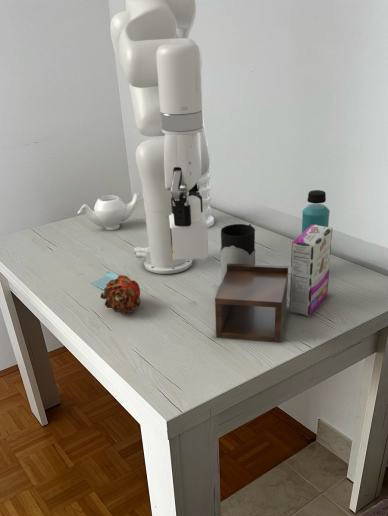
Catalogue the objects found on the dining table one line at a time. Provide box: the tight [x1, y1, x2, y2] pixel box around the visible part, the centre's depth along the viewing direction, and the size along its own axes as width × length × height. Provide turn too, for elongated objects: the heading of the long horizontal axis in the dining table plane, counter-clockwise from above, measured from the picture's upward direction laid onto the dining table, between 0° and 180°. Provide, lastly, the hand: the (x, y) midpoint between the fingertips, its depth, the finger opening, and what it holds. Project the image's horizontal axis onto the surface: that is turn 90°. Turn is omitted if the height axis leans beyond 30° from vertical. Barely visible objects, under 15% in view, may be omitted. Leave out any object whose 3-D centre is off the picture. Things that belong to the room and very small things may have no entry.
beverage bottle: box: [300, 189, 331, 235], centre depth 130 cm, size 6×7×20 cm
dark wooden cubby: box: [214, 264, 289, 343], centre depth 113 cm, size 13×14×10 cm
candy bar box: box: [289, 225, 333, 317], centre depth 117 cm, size 11×5×16 cm, turn 148°
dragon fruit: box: [100, 274, 141, 314], centre depth 122 cm, size 8×8×12 cm
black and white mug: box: [220, 222, 256, 284], centre depth 127 cm, size 9×14×15 cm, turn 158°
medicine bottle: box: [169, 192, 209, 261], centre depth 108 cm, size 7×7×12 cm
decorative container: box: [180, 161, 215, 229], centre depth 164 cm, size 12×12×18 cm
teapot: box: [76, 192, 141, 231], centre depth 167 cm, size 10×20×9 cm, turn 112°
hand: (187, 217), depth 107 cm, fingers closed on medicine bottle, 6 cm apart
